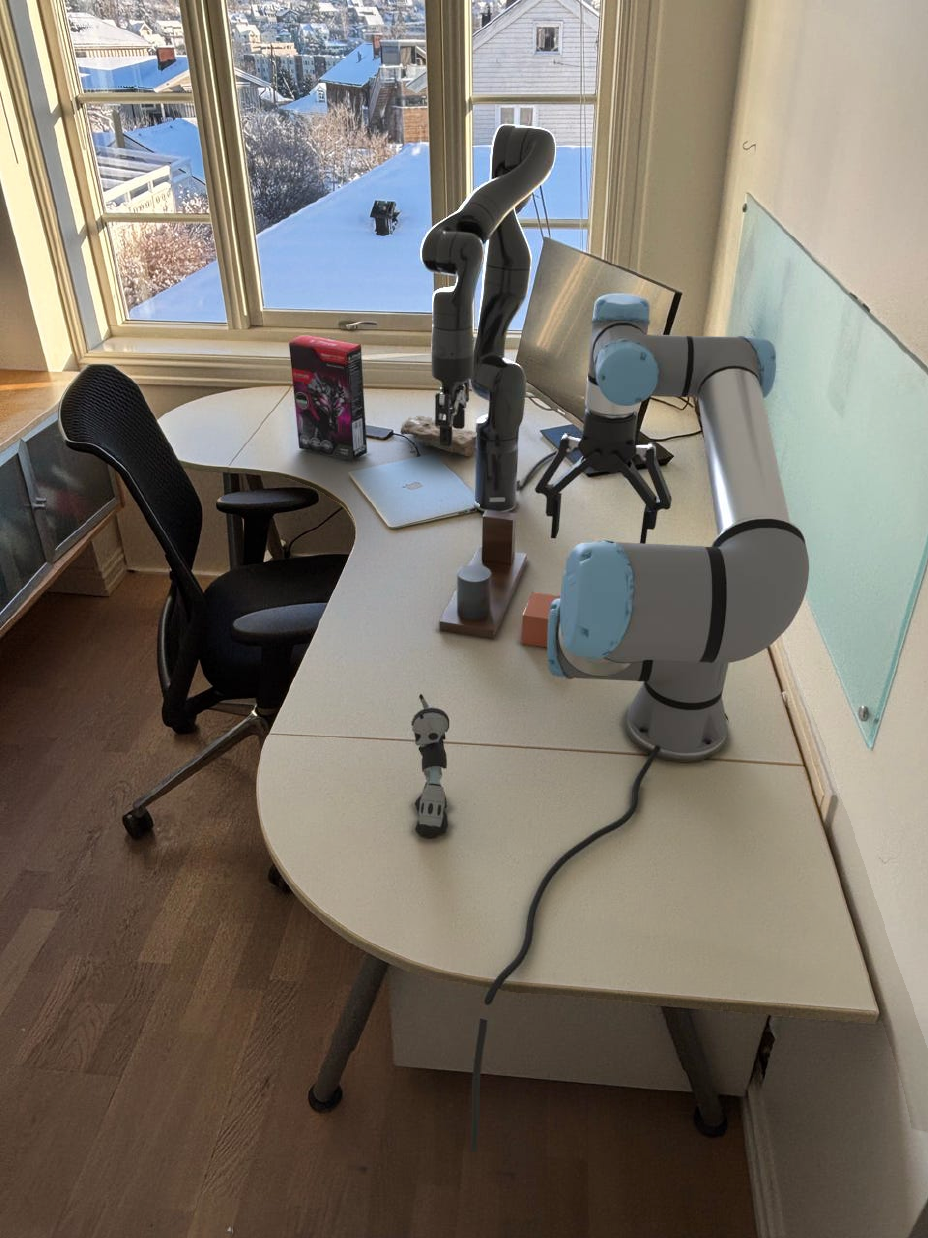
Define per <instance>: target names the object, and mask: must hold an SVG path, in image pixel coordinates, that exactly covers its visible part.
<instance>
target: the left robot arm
mask: <svg viewBox="0 0 928 1238" xmlns="http://www.w3.org/2000/svg"><path fill="white" fill-rule="evenodd" d="M490 152H491V153H490V172H489V181H488V182H487V181H486V182H485V183H483V184H481V185H480V186H479V187H477V188H476V189H474V190H473V192H471V193H470V194H469V196H468V197H467V198H466V199H465V201H464V202H463V203H462V204H461V206H460V207H459V209H458V210H457V211H455V212H454V213H452V214H450V215H449V216H448V217H446V218H444V219H443V220H441V221H440V222H438V223H436V224H435V225H434V226H433V227H431V229H430V230H429V231H428V232H427V233H426V234H425V237H424V238H423V240H422V243H421V246H420V260H421V262H422V264H423V266H424V267H425V269H426V270H427V271H428V272H431V273H433V274H436V275H437V274H438V275H446V276H452V277H453V276H454V277H456V283H455V285H454V286H448V287H443V288H442V287H441V288H439V289H437V290H435V291H434V293H433V295H432V302H431V303H432V304H431V305H432V309H431V310H432V330H431V338H430V343H431V344H430V345H431V349H430V350H431V376H432V377H433V379H435V380H436V381H439V382H440V383H441V387H440V388H439V391H438V392H435V394H434V399H435V400H434V401H435V403H434V405H435V406H434V407H435V409H434V411H435V412H434V420H435V426H440V444H441V445H445V446H450V445H451V444H452V428H457V429H462V430H464V428H465V427H466V426H465V423H466V419H465V417H466V408H467V403H469V400H470V388H471V390H472V392H473V393H474V394H475V395H476V396H477V397H479V398H481V399H483V400H485V401H487V402H488V411H487V412H488V413H486V414H483V415H481V416H479V417H478V418H477V420H476V422H475V432H476V447H475V456H474V457H475V461H474V462H475V464H474V465H475V467H474V501H473V505H474V508H475V509H476V510H477V511H479V512H482V513H483V514H484V513H485V511H486V510H494V511H502V512H509V513H511V512H512V511H514V510H515V509H516V507H517V492H518V491H519V490H521V489H523V488H524V487H525V486H526V484H527V482H528V480H529V479H530V477H531V476H532V474H533V473H534V472H535V471H536V469H537V468H538V467H539V466H541V464H543V463H544V462H545V461H547V460H548V459H550V458H552V457H554V456H555V455H556V453H557V452H558V450H559V449H557V450H555V451H553V452H551V453H549V454H547V455H546V456H544V457H542V458H541V459H540V460H539V461H538V462H536V463H535V464H534V465H533V466H532V467H531V469H530V470H529V471H528V473H527V474H526V475H525V477H524V478H523V481H522V483H521V480H520V479H518V463H519V462H518V460H519V438H520V427H521V425H522V422H523V420H524V414H525V403H526V393H527V377H526V373H525V370H524V368H523V367H522V366H521V365H520V364H518V363H516V362H514V361H512V360H510V359H507V358H506V357H505V353H506V352H505V351H506V342H507V335H508V331H509V328H510V326H511V323H512V322H513V320H514V319H515V317H516V316H517V313H518V312H519V311H520V309H521V308H522V305H523V304H524V302H525V300H526V298H527V296H528V291H529V288H530V280H531V271H532V262H533V261H532V260H533V259H532V253H531V249H530V246H529V244H528V241H527V238H526V236H525V234H524V231H523V228H522V227H521V224H520V222H519V219H518V217H517V213H516V209H515V208H516V207H517V206H518V205H519V204H520V203H521V202H523V201H524V200H525V199H526V198H527V197H529V196H530V195H531V194H532V193H533V192H534V191H536V190H537V188H539V187H540V186H541V185H542V184H543V183H544V182H545V181H546V180H547V179H548V177H550V174H551V173H552V170H553V168H554V164H555V160H556V155H557V154H556V152H557V146H556V139H555V136H554V135H553V133H552V132H551V131H549V130H548V129H545V128H542V127H537V126H527V125H520V124H511V123H504V124H501V125H500V126H498V128H497V129H496V132H495V134H494V136H493V140H492V145H491V151H490ZM485 244H486V245H485ZM484 245H485V248H484ZM482 268H483V271H482ZM481 271H482V281H481V282H482V284H481V285H482V286H481V297H480V305H479V307H480V308H479V314H478V324H477V331H476V336H475V335H474V328H473V327H474V325H473V323H474V322H473V321H474V320H473V319H474V317H473V316H474V299H475V295H476V289H477V285H478V281H479V278H480V274H481ZM444 415H445V419H444ZM475 501H476V502H477V503H479V504H480V507H478V506H477V505H476V504H475Z"/></svg>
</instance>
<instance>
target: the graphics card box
mask: <svg viewBox="0 0 928 1238" xmlns="http://www.w3.org/2000/svg"><path fill="white" fill-rule="evenodd" d="M288 348H289V349H288V350H289V358H290V367H291V377H292V389H293V399H294V409H295V418H296V419H295V420H296V428H297V429H296V431H297V437H298V438H297V441H298V448H299V449H301V450H305V451H309V452H313V453H318V454H323V455H327V456H331V457H335V458H339V459H344V460H347V461H351V462H354V461H356V460H358V459H359V458H360V457H362V456H364V455H365V454H367V453H368V445H367V444H368V443H367V426H366V410H365V393H364V377H363V376H364V375H363V356H362V345H361V343H360V344H359V343H351V342H346V341H341V340H335V339H334V340H333V339H329V338H325V337H324V338H323V337H318V336H313V335H308V334H301V335H299V336H297V337H295V338H293V339H292V340H291V341H289V342H288Z"/></svg>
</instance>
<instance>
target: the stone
mask: <svg viewBox="0 0 928 1238" xmlns="http://www.w3.org/2000/svg"><path fill="white" fill-rule="evenodd" d="M400 434H401V435H403V436H404V435H411V436H412V437H413V438H414V439H415V440H418V441H421V443H422V445H424V446H427V447H431V446H433V447H435V448H438V449H440V450H443V451H446V452H451V453H458V454H460V455H462V456H465V457H471V455H473V453H474V452H475V449H476V431H473V430H470V429H458V428H454V427H452V444H451V445H450V446H445V445H441V444H440V426H435V419H433V418H432V417H429V416H424V415H416V416H414V417H412V416H411V417H410V416H409V417H408V418H406V420H405V421H403V422H402V424H401V427H400Z"/></svg>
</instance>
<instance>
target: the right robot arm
mask: <svg viewBox="0 0 928 1238" xmlns="http://www.w3.org/2000/svg"><path fill="white" fill-rule="evenodd" d="M650 307H651V305H650V302H649V300H647V299H646V298H644V297H643V296H640V295H637V294H632V293H608V294H603V295H601V296H600V297H598V298H596V300H595V302H594V305H593V313H592V319H591V320H590V324H591V330H590V331H591V333H590V344H589V357H588V358H589V359H588V360H589V361H588V372H587V377H586V378H587V379H586V389H585V401H584V405H585V407H586V408H585V409H584V415H583V427H582V436H581V437H580V438H578V437H573V436H571V434H570V433H569V432H565V433H563V435H562V437H561V439H560V441H559V446H558V449H557V450H558V452H557V453H556V455H554V456H553V458H552V459H551V461H550V463H549V464H548V466H547V467H546V469H545V471H544V472H543V474H542V475H541V477H540V478H539V480H538V482H537V484H536V486H535V488H534V491H535V493H536V494H538V495H539V494H542V495H544V496H545V498H546V505H545V515H546V517H549V518H550V517H551V530H550V539H557V536H558V535H559V531H560V519H561V509H562V507H561V506H562V491H563V490H564V489H565V488H566V487H567V486H568V485H570V484H571V483H573V481H575V479H576V478H577V477H579V476H580V475H581V474H582V473H584V472H585V471H586V470H588V469H589V468H590V469H593V471H594V472H607V473H609V474H616V473H618V472H620V474H621V475H622V476H623V478H625V479H626V480H627V481H628V482H629V484H630V485H631V487H632V488H633V489H634V491H635V492H636V493H637V495H638V497H640V499H641V501H643V503H644V504H645V505H644V509H643V515H642V516H643V517H642V522H641V523H642V524H641V531H640V539H639V542H620V541H612V540H606V539H604V540H598V541H589V542H587V541H586V542H581V543H578V544H577V545H576V546H574V547H573V548H572V550H571V551H570V552H569V554H568V557H567V559H566V562H565V571H564V572H563V576H562V580H561V581H562V582H561V589H560V596H561V598H560V599H555V600H554V601H553V602H552V603H551V606H550V612H549V619H548V634H547V648H546V654H547V668H548V670H549V673H550V674H551V675H552V676H553V677H557V678H565V679H567V680H572V679H587V680H588V679H589V680H611V681H632V682H633V681H634V682H642V684H641V685H640V688H639V689H638V691H637V692H636V694H635V695H634V697H633V699H632V701H631V702H630V704H629V705H628V707H627V711H626V719H625V728H626V732H627V734H628V736H629V738H630V739H631V741H632V742H634V744H636V745H637V746H638V747H639V748H640V749H641V750H643V751H645V752H646V753H648V754H650V755H649V756H648V758H647V759H646V761H645V762H644V764H643V765H642V767H641V769H640V770H639V772H638V774H637V775H636V778H635V780H634V783H633V786H632V794H631V803H630V806H629V808H628V809H627V811H626V812H625V813H624V814H623V815H622V816H621V817H619V818H618V819H616V820H615V821H614V822H612V823H610V824H608V825H606V826H603V827H602V828H600V829H598V830H596V831H595V832H593V833H592V834H590V835H589V836H587V837H586V838H585V839H583V840H582V841H580V842H578V843H577V844H576V845H574V846H573V847H572V848H570V849H569V850H567V851H566V852H565V853H564V854H563V855H562V856H561V857H560V858H559V859H557V861H556V862H555V863H554V864H553V865H552V866H551V867H550V868H549V870H548V871H547V872H546V874H545V875H544V877H543V879H542V880H541V882H540V884H539V886H538V888H537V890H536V891H535V894H534V896H533V898H532V901H531V904H530V906H529V909H528V913H527V919H526V925H525V935H524V939H523V942H522V945H521V948H520V950H519V952H518V953H517V955H516V956H515V958H514V959H513V960H512V961H511V962H510V963H509V965H507V966H506V967H505V968H504V969H503V970H502V971H501V972H500V973H499V975H497V976H496V978H495V979H494V981H493V982H492V984H491V986H490V987H489V989H488V991H487V994H486V996H485V997H484V1000H483V1002H484V1004H485V1005H486V1006H489V1005H491V1004H492V1003H493V1000H494V999H495V997H496V995H497V993H498V990H499V989H500V988H501V986H502V985H503V983H505V981H506V980H507V979H508V978H509V977H510V976H511V975H512V974H513V973H514V972H515V971H516V970H517V969H518V968H519V967H520V966H521V965H522V963H523V961H524V960H525V958H526V956H527V954H528V952H529V950H530V948H531V944H532V941H533V935H534V926H535V919H536V913H537V909H538V908H539V904H540V902H541V899H542V898H543V896H544V892H545V890H546V889H547V887H548V885H549V883H550V882H551V881H552V879H553V878H554V877H555V875H556V874H557V872H558V871H559V870H560V869H561V868H562V867H563V866H564V865H565V864H566V863H567V862H568V861H569V860H570V859H571V858H572V857H574V856H575V855H576V854H578V853H579V852H581V851H582V850H584V849H585V848H587V847H588V846H589V845H591V844H592V843H594V842H595V841H597V840H598V839H600V838H601V837H603V836H605V835H607V834H609V833H611V832H613V831H615V830H617V829H618V828H620V827H622V826H624V825H625V824H626V823H627V822H628V821H630V819H631V818H632V816H633V815H635V814H634V813H635V811H637V808H638V803H639V796H640V795H639V793H640V787H641V785H642V781H643V780H644V777H645V775H646V774H647V772H648V770H649V769H650V767H651V766H652V764H653V762H654V760H655V759H656V758H659V759H662V760H666V761H670V762H675V763H694V762H700V761H703V760H706V759H709V758H711V757H714V755H716V754H718V752H720V751H721V750H722V748H723V747H724V744H725V743H726V740H727V739H726V738H727V734H728V724H730V721H729V717H728V715H727V713H726V712H725V708H724V707H725V706H724V701H723V692H724V686H725V682H726V678H727V672H728V668H729V664H730V663H735V662H740V661H743V660H746V659H749V658H751V657H753V656H755V655H757V654H760V652H762V651H764V650H765V649H766V650H767V648H769V647H770V646H772V644H774V643H775V642H776V641H777V639H778V640H779V638H780V637H781V636H782V635H783V634H784V633H785V631H786V630H788V628H789V627H790V626H791V624H792V622H793V621H794V619H795V618H796V616H797V614H798V612H799V611H800V609H801V606H802V604H803V601H804V599H805V596H806V592H807V588H808V584H809V578H810V576H809V575H810V559H809V554H808V549H807V544H806V539H805V536H804V534H803V532H802V530H801V529H800V528H799V527H798V526H797V525H796V524H795V523H793V522H791V520H790V515H789V510H788V506H787V500H786V496H785V492H784V487H783V486H784V485H783V481H782V478H781V472H780V469H779V464H778V459H777V455H776V450H775V445H774V440H773V435H772V432H771V431H772V430H771V427H770V426H771V425H770V423H769V417H768V413H767V412H768V411H767V409H766V404H765V398H767V397H768V396H769V395H770V394H771V392H772V389H773V387H774V383H775V379H776V373H777V362H776V359H777V352H776V348H775V345H774V343H772V341H770V340H769V339H766V338H758V337H757V338H756V337H748V336H745V335H738V336H711V335H709V336H707V335H706V336H705V335H704V336H702V335H701V336H700V335H677V334H676V335H674V334H673V335H671V334H648V333H649V331H648V330H649V325H651V324H650V323H651V320H650V311H651V310H650V309H651V308H650ZM650 397H663V398H664V397H667V398H668V397H669V398H695V399H696V398H697V400H698V401H697V402H698V406H699V414H700V422H701V426H702V427H701V428H702V434H703V441H704V449H705V455H706V464H707V471H708V477H709V484H710V493H711V498H712V506H713V512H714V513H713V514H714V521H715V527H716V537H715V538H714V540H713V542H712V544H711V545H710V546H703V545H685V544H666V543H665V544H664V543H663V544H661V543H647V538H648V537H647V536H648V530H652V531H653V530H655V529H656V525H657V519H658V513H659V511H660V510H665V511H666V510H669V509H671V506H672V501H673V498H672V495H671V492H670V489H669V487H668V484H667V482H666V479H665V477H664V474H663V471H662V469H661V467H660V464H659V461H658V458H657V445H656V443H655V442H654V441H653V442H652V441H651V442H648V444H637V443H636V433H637V425H638V415H639V414H638V412H637V410H638V409H639V406H640V404H641V403H642V402H644V401H646V400H647V399H649V398H650ZM575 448H578V450H579V452H580V454H581V455H582V456H581V457H580V458H579V460H577V461H576V462H575V463H574V464H573V465H572V466H571V467H570V468H569V469H568V470H566V471H565V472H564V473H563V474H562V475H561V476H559V478H557V479H556V481H554V482H553V483H551V484H549V482H550V481H551V479H552V478H553V476H554V475H555V473H556V472H557V470H558V468H559V467H560V466H561V464H562V462H563V461H564V460H565V457H566V455H567V454H568V453H572V452H573V451H574V449H575ZM636 455H639V457H640V459H641V460H642V461H643V462H645V465H646V470H647V471H648V474H649V476H650V479H651V481H652V485H653V487H654V490H655V492H654V491H653V490H652V488H651V487H650V486H649V484H648V482H646V480H645V479H644V477H643V475H641V473H640V472H639V471H638V469H637V467H636V465H635V463H634V461H633V460H632V459H634V457H635V456H636ZM655 493H656V494H655ZM656 495H657V496H656ZM487 1027H488V1020H487V1019H484V1018H479V1024H478V1031H477V1039H476V1044H475V1053H474V1059H473V1071H472V1084H471V1085H472V1086H471V1140H470V1150H472V1151H473V1152H476V1151H478V1149H479V1131H480V1130H479V1129H480V1089H481V1088H480V1087H481V1086H480V1085H481V1073H482V1072H481V1071H482V1062H483V1057H484V1055H483V1054H484V1047H485V1042H486V1037H487V1036H486V1035H487Z"/></svg>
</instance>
